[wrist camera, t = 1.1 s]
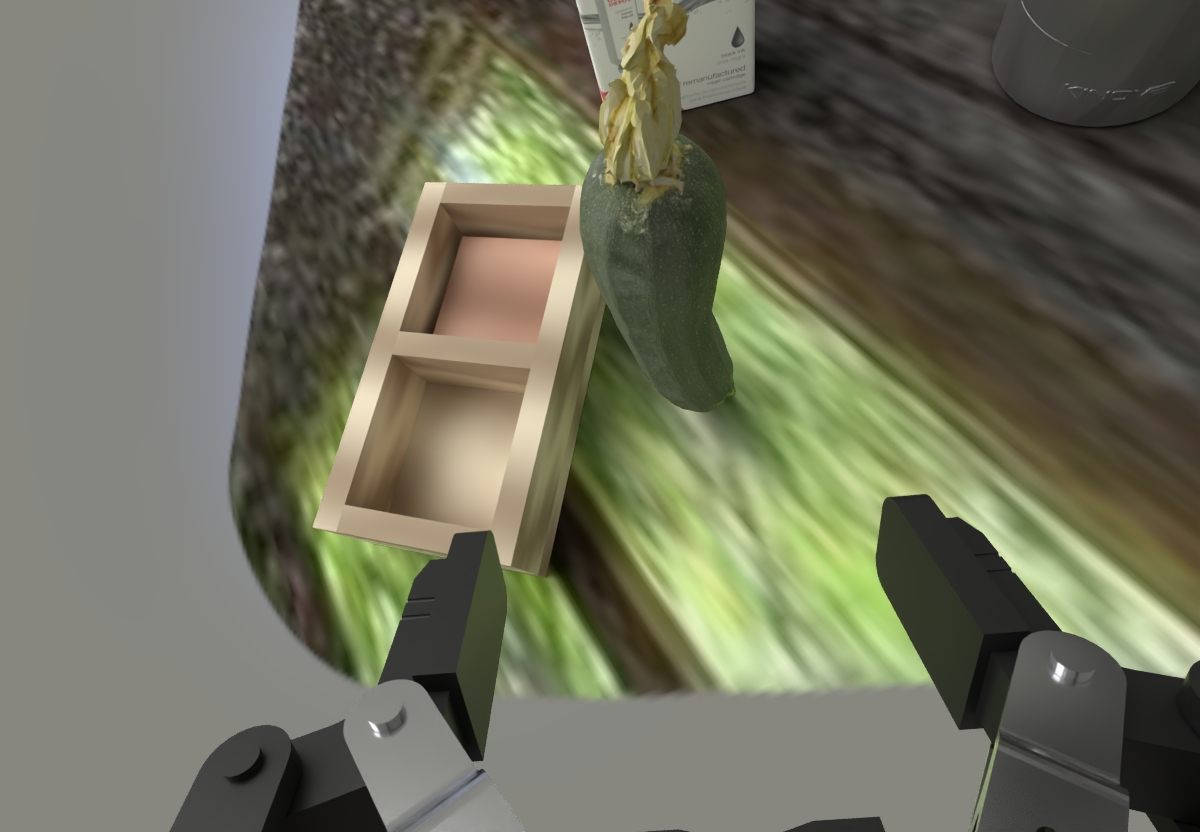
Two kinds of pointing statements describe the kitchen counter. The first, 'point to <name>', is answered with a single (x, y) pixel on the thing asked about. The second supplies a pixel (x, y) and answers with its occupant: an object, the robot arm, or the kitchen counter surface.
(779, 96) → the kitchen counter surface
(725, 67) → the ink box
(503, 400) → the wooden tray
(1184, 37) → the robot arm
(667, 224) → the vegetable
